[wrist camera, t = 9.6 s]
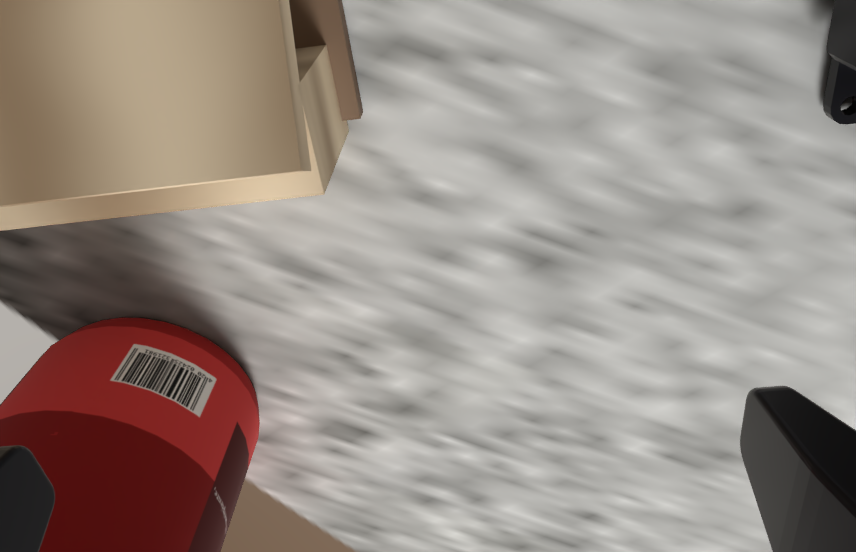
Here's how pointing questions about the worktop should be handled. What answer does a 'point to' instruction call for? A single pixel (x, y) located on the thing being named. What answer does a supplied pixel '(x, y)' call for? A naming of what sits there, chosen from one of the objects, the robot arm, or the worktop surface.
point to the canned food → (136, 437)
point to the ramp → (158, 108)
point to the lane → (329, 47)
